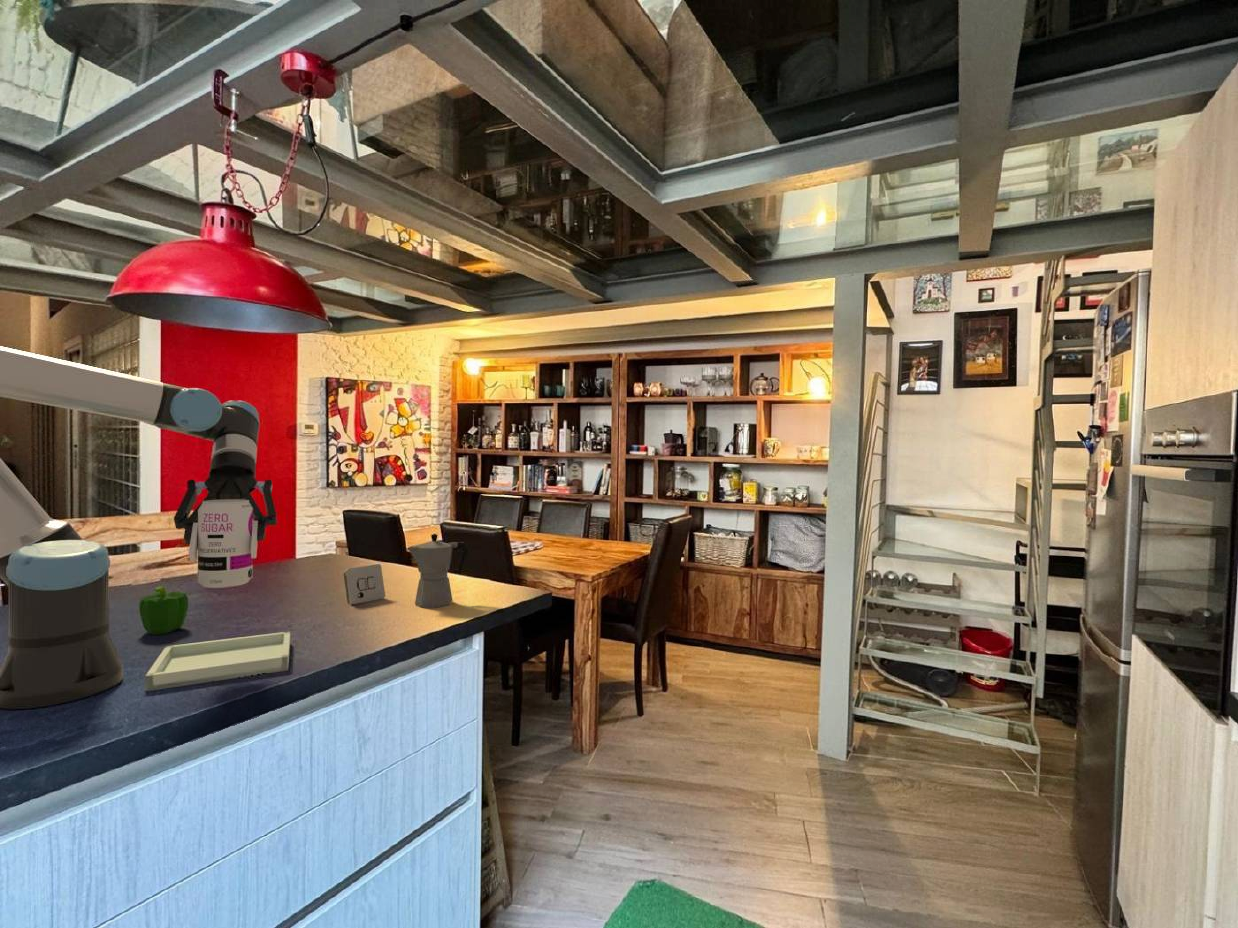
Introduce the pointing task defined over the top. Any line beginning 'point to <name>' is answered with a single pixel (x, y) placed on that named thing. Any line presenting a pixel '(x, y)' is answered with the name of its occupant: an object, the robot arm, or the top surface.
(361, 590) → the electrical switch
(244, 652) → the tray
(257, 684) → the top surface
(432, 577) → the coffeepot
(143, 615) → the bell pepper
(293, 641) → the top surface
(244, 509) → the supplement can
